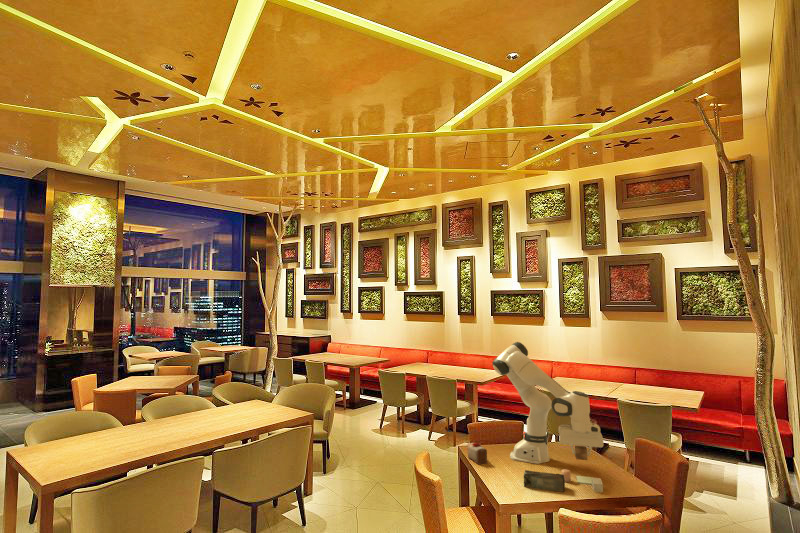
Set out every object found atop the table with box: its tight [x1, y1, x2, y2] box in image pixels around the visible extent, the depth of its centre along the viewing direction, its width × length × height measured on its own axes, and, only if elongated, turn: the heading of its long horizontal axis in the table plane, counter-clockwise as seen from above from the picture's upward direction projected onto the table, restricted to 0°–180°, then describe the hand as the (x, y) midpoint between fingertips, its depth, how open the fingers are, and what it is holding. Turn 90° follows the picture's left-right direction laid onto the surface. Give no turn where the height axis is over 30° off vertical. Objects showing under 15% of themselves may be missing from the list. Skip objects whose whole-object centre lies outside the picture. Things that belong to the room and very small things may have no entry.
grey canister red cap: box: [466, 442, 488, 465], centre depth 261 cm, size 14×8×10 cm, turn 20°
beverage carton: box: [523, 469, 566, 493], centre depth 224 cm, size 8×19×7 cm, turn 70°
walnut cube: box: [574, 445, 588, 461], centre depth 221 cm, size 5×5×5 cm
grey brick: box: [591, 477, 604, 493], centre depth 221 cm, size 8×4×4 cm, turn 163°
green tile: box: [575, 475, 595, 486], centre depth 231 cm, size 9×9×1 cm
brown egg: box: [561, 468, 572, 484], centre depth 231 cm, size 4×4×5 cm
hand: (581, 454), depth 221 cm, fingers closed on walnut cube, 5 cm apart
